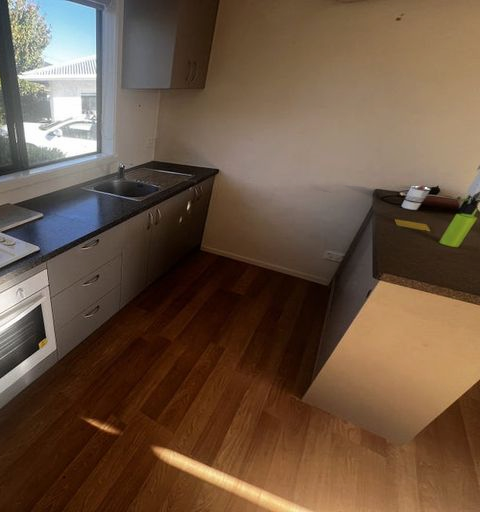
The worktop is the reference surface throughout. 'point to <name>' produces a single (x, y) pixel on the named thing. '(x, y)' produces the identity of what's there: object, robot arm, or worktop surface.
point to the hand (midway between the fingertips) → (465, 212)
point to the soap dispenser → (458, 229)
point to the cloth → (412, 225)
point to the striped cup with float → (415, 197)
